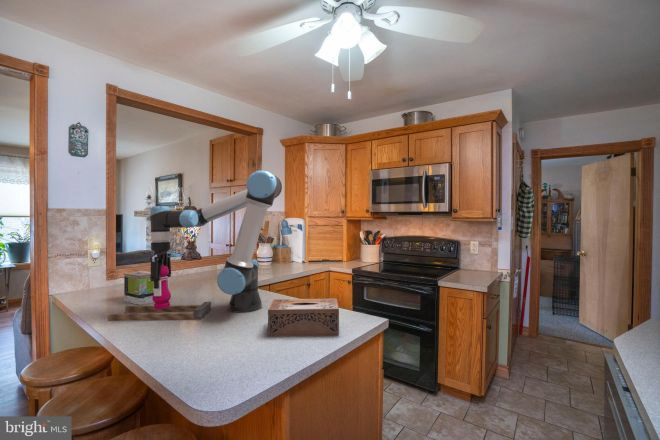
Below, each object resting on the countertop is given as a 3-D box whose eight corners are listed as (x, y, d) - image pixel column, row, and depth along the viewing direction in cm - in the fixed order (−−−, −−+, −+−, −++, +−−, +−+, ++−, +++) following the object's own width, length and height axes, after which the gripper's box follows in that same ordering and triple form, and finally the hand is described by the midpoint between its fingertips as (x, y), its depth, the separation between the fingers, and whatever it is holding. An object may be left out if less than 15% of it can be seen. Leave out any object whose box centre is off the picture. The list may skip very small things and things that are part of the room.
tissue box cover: (267, 337, 114) (267, 309, 114) (273, 323, 129) (273, 299, 129) (338, 336, 115) (338, 308, 115) (336, 322, 130) (336, 298, 130)
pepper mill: (157, 305, 142) (156, 260, 142) (173, 304, 143) (172, 260, 142) (149, 310, 135) (148, 263, 135) (167, 309, 135) (166, 262, 135)
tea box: (159, 301, 162) (159, 272, 162) (138, 306, 154) (138, 275, 153) (143, 297, 170) (143, 270, 170) (123, 301, 162) (123, 272, 162)
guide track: (211, 310, 146) (211, 301, 146) (200, 319, 133) (200, 310, 133) (126, 311, 145) (126, 302, 144) (108, 320, 132) (108, 311, 132)
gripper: (162, 240, 148) (163, 289, 148) (139, 243, 129) (140, 299, 129) (178, 239, 148) (179, 288, 149) (158, 243, 129) (159, 299, 129)
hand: (161, 293), depth 139 cm, fingers closed on pepper mill, 6 cm apart
